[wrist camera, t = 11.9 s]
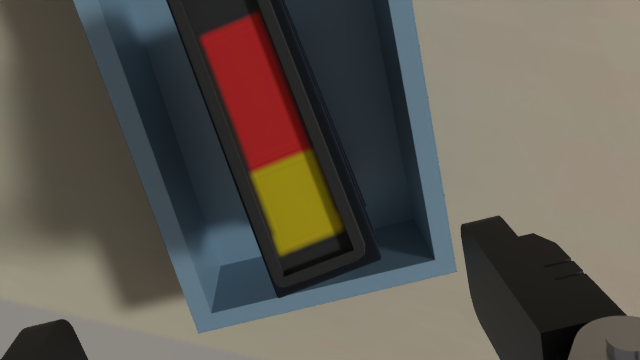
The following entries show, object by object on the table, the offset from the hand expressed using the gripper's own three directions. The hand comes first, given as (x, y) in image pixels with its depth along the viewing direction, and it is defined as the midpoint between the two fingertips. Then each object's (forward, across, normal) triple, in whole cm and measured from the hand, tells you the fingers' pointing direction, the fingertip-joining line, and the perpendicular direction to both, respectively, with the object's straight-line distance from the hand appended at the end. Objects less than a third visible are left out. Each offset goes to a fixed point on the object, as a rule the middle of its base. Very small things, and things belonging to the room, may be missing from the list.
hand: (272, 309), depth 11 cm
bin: (+22, 0, 0) cm, 22 cm away
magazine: (+21, 0, 0) cm, 21 cm away
